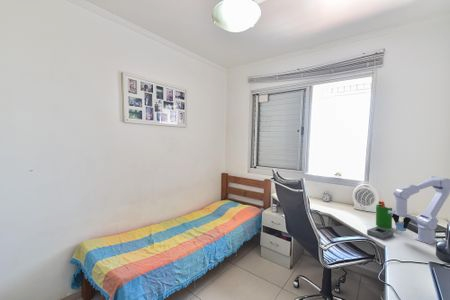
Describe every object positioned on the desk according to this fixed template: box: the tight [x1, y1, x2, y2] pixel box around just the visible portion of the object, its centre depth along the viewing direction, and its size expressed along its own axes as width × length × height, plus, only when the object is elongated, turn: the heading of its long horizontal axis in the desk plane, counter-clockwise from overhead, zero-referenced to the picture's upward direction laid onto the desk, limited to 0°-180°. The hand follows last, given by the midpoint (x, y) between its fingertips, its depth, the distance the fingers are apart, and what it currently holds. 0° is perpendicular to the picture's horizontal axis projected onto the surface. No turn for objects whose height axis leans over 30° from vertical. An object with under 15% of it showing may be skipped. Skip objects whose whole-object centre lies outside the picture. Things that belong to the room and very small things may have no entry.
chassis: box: [366, 225, 395, 241], centre depth 142 cm, size 14×10×3 cm
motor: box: [375, 200, 393, 229], centre depth 157 cm, size 10×9×20 cm
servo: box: [394, 220, 407, 232], centre depth 134 cm, size 7×4×6 cm, turn 117°
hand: (401, 227), depth 134 cm, fingers closed on servo, 4 cm apart
